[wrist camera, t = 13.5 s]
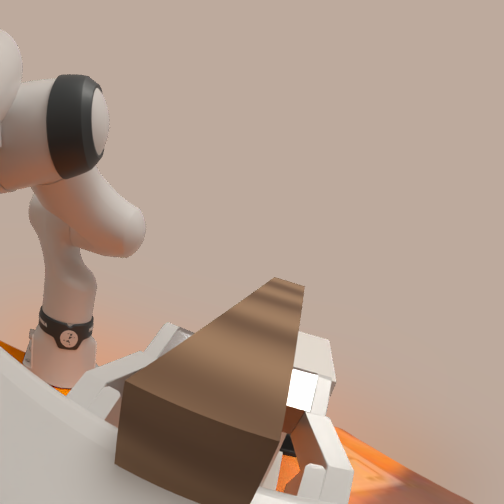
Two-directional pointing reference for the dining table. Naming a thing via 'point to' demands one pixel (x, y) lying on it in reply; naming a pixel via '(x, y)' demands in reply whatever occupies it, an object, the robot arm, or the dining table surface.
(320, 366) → the pedestal
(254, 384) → the walnut bar
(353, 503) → the dining table surface
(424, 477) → the dining table surface
